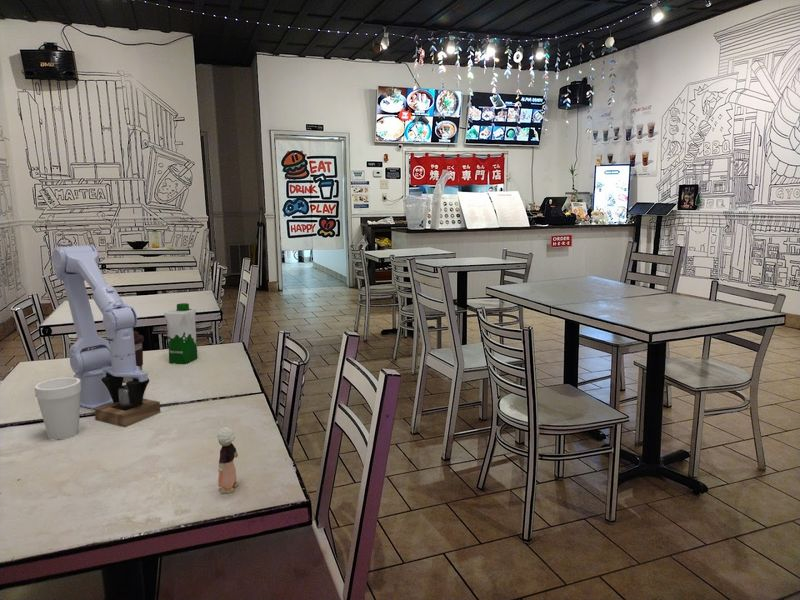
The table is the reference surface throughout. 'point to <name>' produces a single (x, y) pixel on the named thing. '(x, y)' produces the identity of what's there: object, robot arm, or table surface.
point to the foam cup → (60, 406)
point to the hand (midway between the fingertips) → (127, 403)
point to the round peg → (125, 398)
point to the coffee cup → (137, 352)
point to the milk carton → (181, 334)
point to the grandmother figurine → (227, 461)
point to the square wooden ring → (126, 413)
